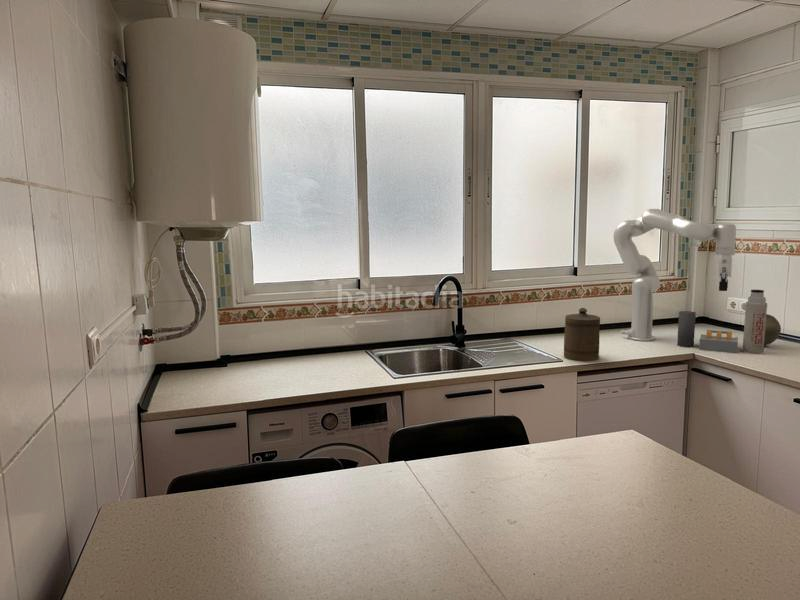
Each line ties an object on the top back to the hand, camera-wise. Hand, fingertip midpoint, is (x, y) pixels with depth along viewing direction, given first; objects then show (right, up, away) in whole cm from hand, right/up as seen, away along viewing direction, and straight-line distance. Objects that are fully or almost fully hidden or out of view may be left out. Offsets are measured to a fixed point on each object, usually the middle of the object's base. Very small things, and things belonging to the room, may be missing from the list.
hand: (723, 289), depth 255 cm
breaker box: (0, -27, +4) cm, 28 cm away
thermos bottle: (+12, -28, -2) cm, 31 cm away
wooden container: (-66, -30, -6) cm, 73 cm away
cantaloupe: (+22, -26, +8) cm, 36 cm away
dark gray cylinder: (-11, -26, +11) cm, 31 cm away
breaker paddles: (0, -22, +4) cm, 23 cm away
